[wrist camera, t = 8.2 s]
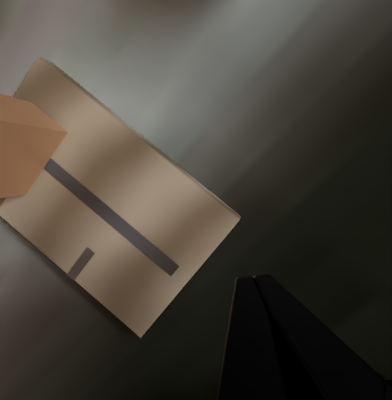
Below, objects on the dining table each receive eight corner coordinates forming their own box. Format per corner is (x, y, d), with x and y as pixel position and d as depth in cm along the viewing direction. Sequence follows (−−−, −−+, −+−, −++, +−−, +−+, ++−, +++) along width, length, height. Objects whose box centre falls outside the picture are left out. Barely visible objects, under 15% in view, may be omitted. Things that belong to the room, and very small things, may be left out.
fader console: (240, 216, 22) (239, 220, 20) (147, 326, 23) (140, 338, 22) (52, 63, 23) (37, 55, 21) (-22, 180, 25) (-41, 181, 23)
